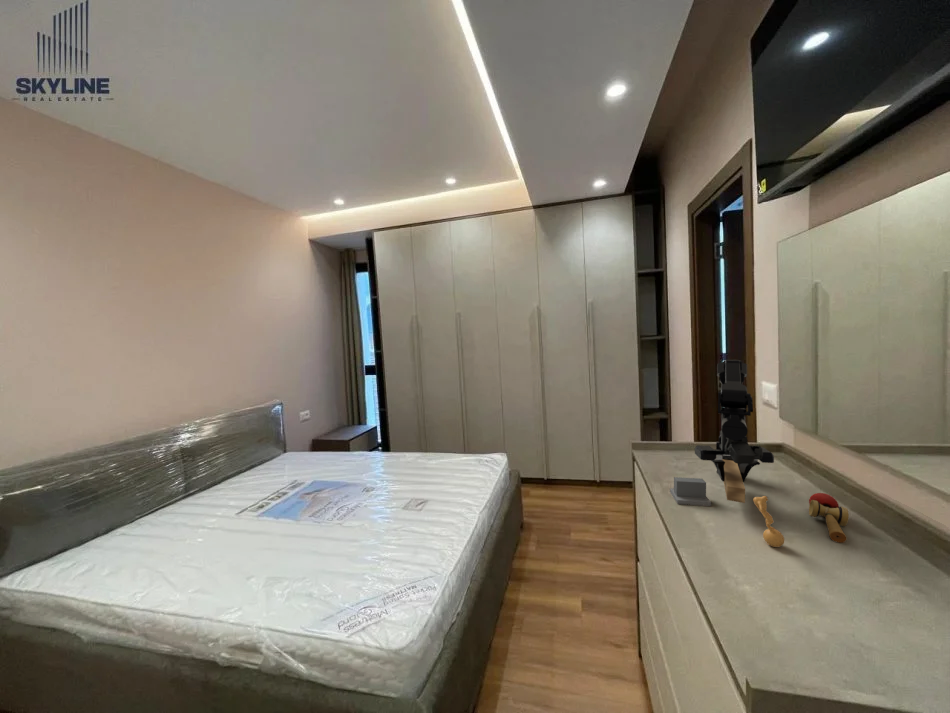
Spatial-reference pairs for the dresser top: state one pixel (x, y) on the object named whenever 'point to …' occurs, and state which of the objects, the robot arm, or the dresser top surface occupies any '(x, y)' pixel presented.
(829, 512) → the kendama
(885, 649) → the dresser top surface
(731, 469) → the plank
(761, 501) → the figurine
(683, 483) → the grey stepped block
